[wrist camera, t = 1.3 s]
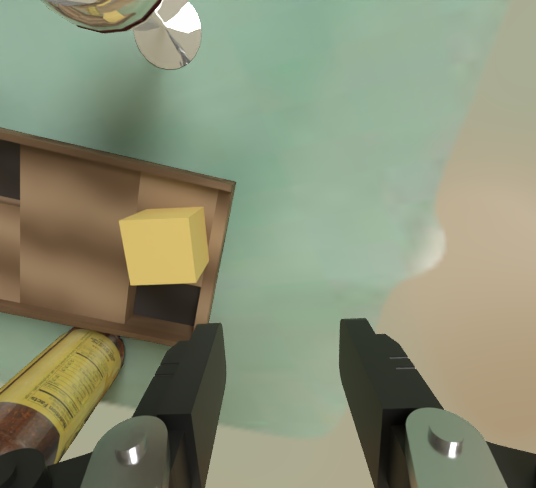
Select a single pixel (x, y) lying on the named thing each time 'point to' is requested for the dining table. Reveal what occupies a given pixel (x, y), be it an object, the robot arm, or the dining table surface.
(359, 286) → the dining table surface
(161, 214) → the mustard block
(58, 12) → the wineglass
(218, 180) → the trap deck
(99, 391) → the sauce bottle
